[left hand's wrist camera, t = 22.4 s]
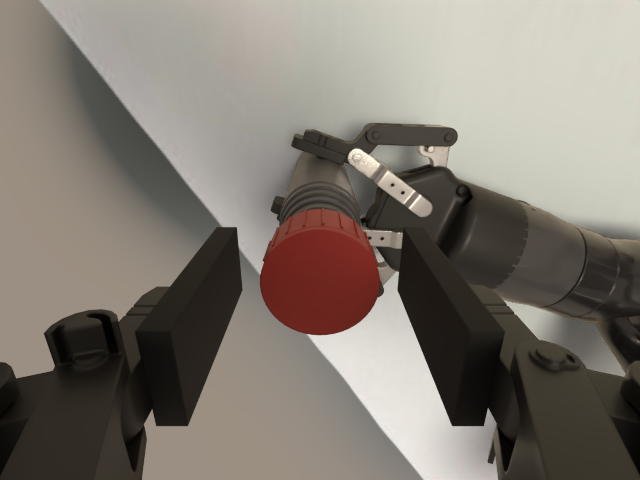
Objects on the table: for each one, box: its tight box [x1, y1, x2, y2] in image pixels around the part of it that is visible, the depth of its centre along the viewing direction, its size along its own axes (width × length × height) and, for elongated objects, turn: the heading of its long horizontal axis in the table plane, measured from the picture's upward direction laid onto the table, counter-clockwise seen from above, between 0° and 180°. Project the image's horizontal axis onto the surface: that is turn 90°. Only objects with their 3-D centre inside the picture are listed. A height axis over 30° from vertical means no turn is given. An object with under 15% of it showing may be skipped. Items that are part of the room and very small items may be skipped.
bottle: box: [279, 151, 361, 227], centre depth 22 cm, size 4×4×20 cm
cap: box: [260, 208, 380, 335], centre depth 13 cm, size 4×4×2 cm
